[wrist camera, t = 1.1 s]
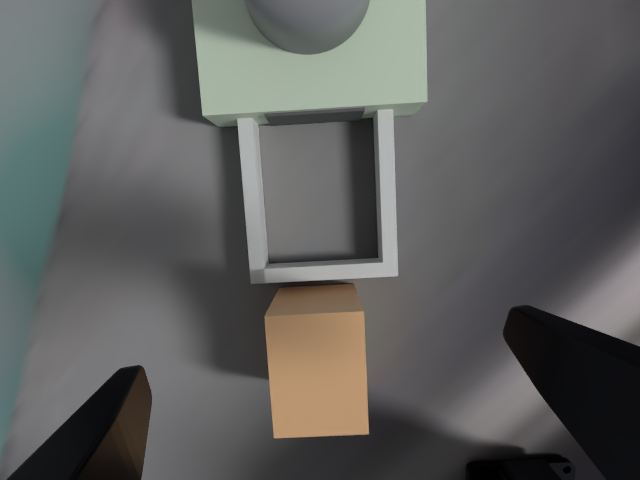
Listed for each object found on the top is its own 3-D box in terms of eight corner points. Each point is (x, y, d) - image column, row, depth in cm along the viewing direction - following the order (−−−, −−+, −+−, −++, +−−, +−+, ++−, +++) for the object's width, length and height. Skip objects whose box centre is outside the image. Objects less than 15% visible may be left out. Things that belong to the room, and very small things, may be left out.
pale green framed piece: (416, 269, 20) (463, 302, 13) (232, 278, 20) (187, 316, 13) (408, -82, 17) (459, -251, 11) (201, -68, 17) (129, -225, 11)
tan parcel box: (358, 377, 20) (369, 434, 16) (286, 380, 21) (273, 438, 16) (353, 283, 20) (363, 311, 15) (279, 287, 20) (264, 316, 15)
